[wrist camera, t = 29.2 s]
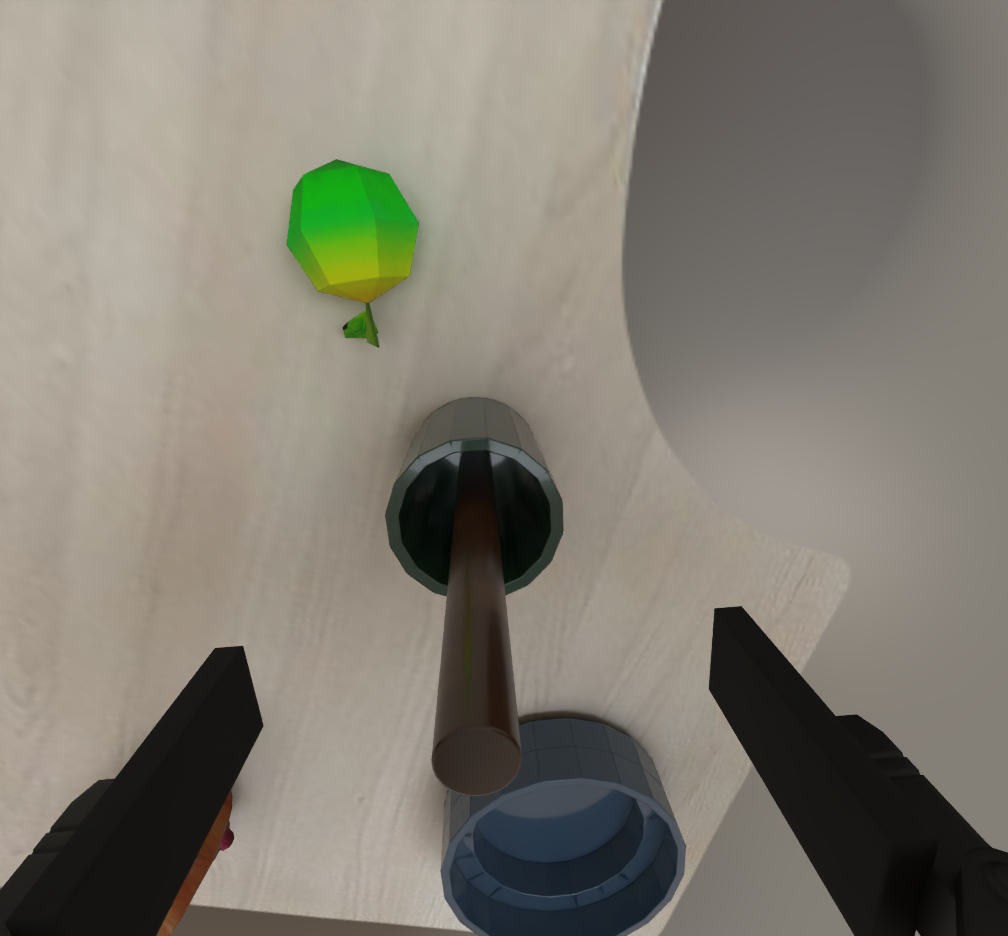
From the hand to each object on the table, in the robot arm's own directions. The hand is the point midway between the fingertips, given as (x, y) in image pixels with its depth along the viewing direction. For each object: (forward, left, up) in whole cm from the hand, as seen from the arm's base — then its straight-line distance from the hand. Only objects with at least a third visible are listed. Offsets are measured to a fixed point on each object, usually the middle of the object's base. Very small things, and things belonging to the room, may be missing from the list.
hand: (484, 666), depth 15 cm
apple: (+5, -12, -20) cm, 24 cm away
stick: (0, 0, -19) cm, 19 cm away
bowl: (-4, +29, -19) cm, 35 cm away
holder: (0, 0, -19) cm, 20 cm away
